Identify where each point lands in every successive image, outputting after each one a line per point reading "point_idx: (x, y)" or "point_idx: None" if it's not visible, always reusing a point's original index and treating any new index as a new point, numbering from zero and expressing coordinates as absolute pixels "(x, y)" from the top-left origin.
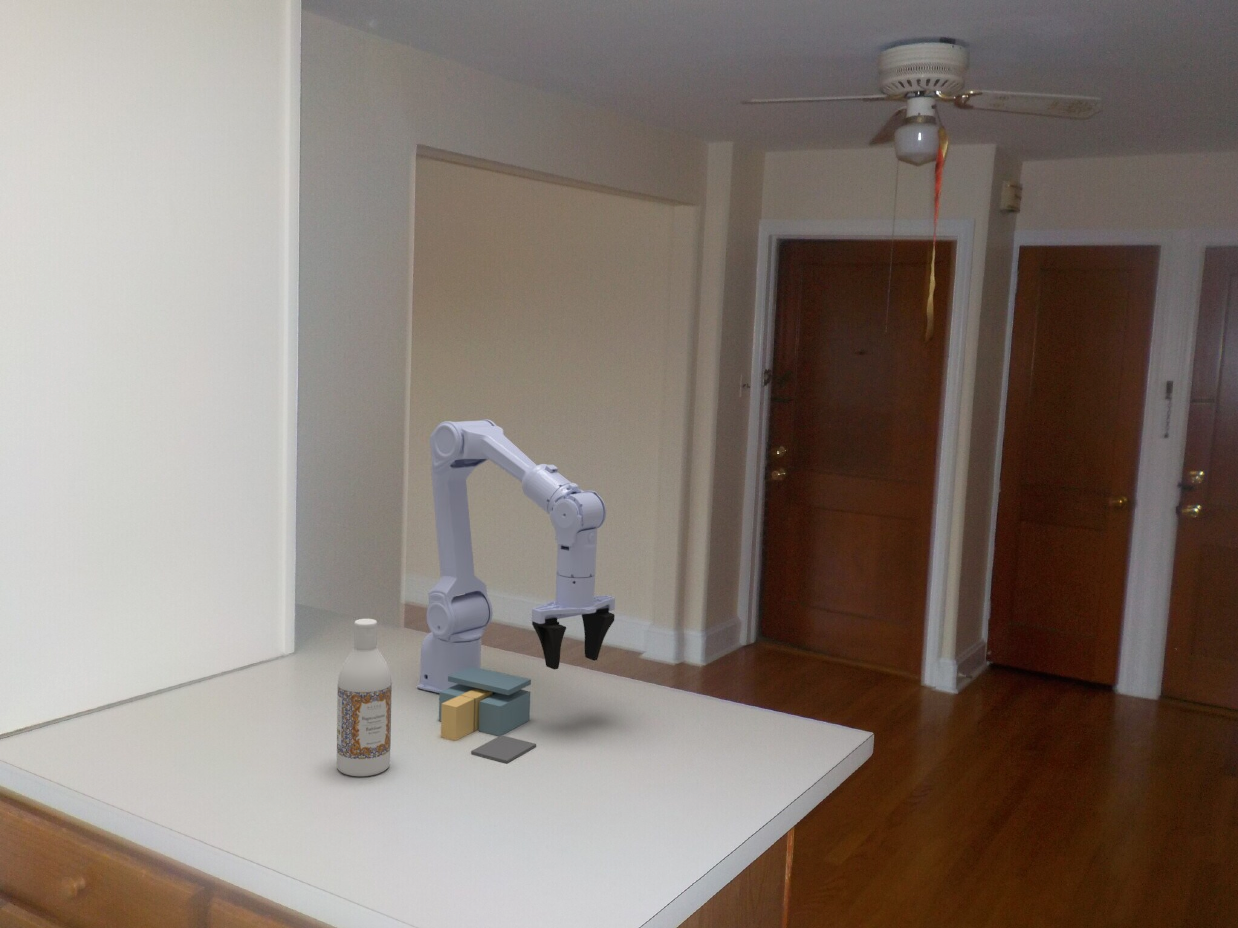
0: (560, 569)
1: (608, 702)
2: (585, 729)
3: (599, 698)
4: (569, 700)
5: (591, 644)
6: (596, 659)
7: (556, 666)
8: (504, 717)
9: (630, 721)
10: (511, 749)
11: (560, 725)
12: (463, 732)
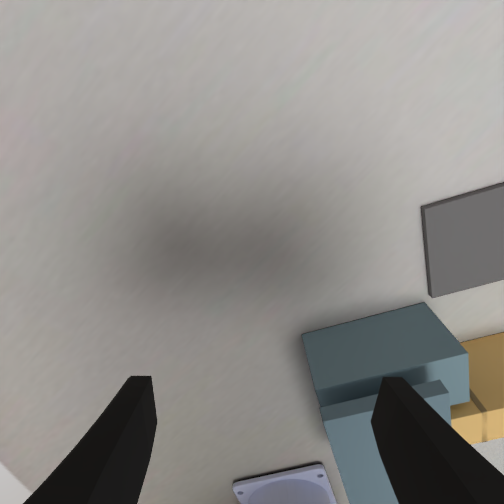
0: None
1: (60, 319)
2: (235, 219)
3: (67, 347)
4: (141, 371)
5: (127, 472)
6: (134, 377)
7: (405, 384)
8: (426, 332)
9: (85, 189)
10: (495, 217)
11: (267, 275)
12: (481, 345)
